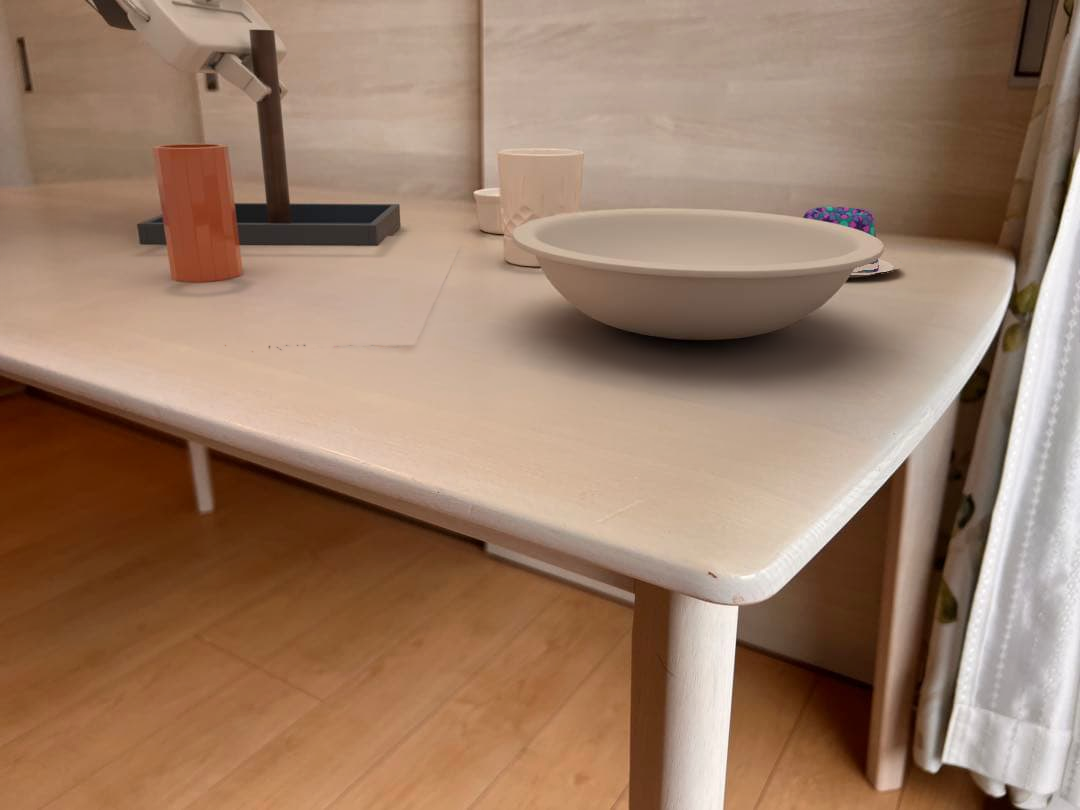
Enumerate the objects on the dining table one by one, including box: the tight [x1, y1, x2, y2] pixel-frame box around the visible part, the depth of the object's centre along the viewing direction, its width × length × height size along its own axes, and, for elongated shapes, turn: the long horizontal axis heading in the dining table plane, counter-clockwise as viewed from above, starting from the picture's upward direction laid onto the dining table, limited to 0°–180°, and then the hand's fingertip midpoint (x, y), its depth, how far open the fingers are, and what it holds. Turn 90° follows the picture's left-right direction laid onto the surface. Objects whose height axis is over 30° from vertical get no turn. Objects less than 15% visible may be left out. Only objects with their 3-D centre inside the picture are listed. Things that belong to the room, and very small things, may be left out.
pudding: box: [802, 206, 893, 278], centre depth 78 cm, size 12×12×5 cm
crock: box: [151, 142, 244, 284], centre depth 70 cm, size 6×6×11 cm
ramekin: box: [473, 187, 505, 235], centre depth 98 cm, size 9×9×4 cm
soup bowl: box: [512, 207, 885, 341], centre depth 58 cm, size 24×24×7 cm
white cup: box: [497, 147, 585, 268], centre depth 80 cm, size 8×8×10 cm
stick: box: [249, 29, 292, 223], centre depth 89 cm, size 2×2×20 cm
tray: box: [136, 202, 402, 247], centre depth 92 cm, size 24×16×3 cm, turn 90°
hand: (273, 96), depth 88 cm, fingers closed on stick, 2 cm apart
